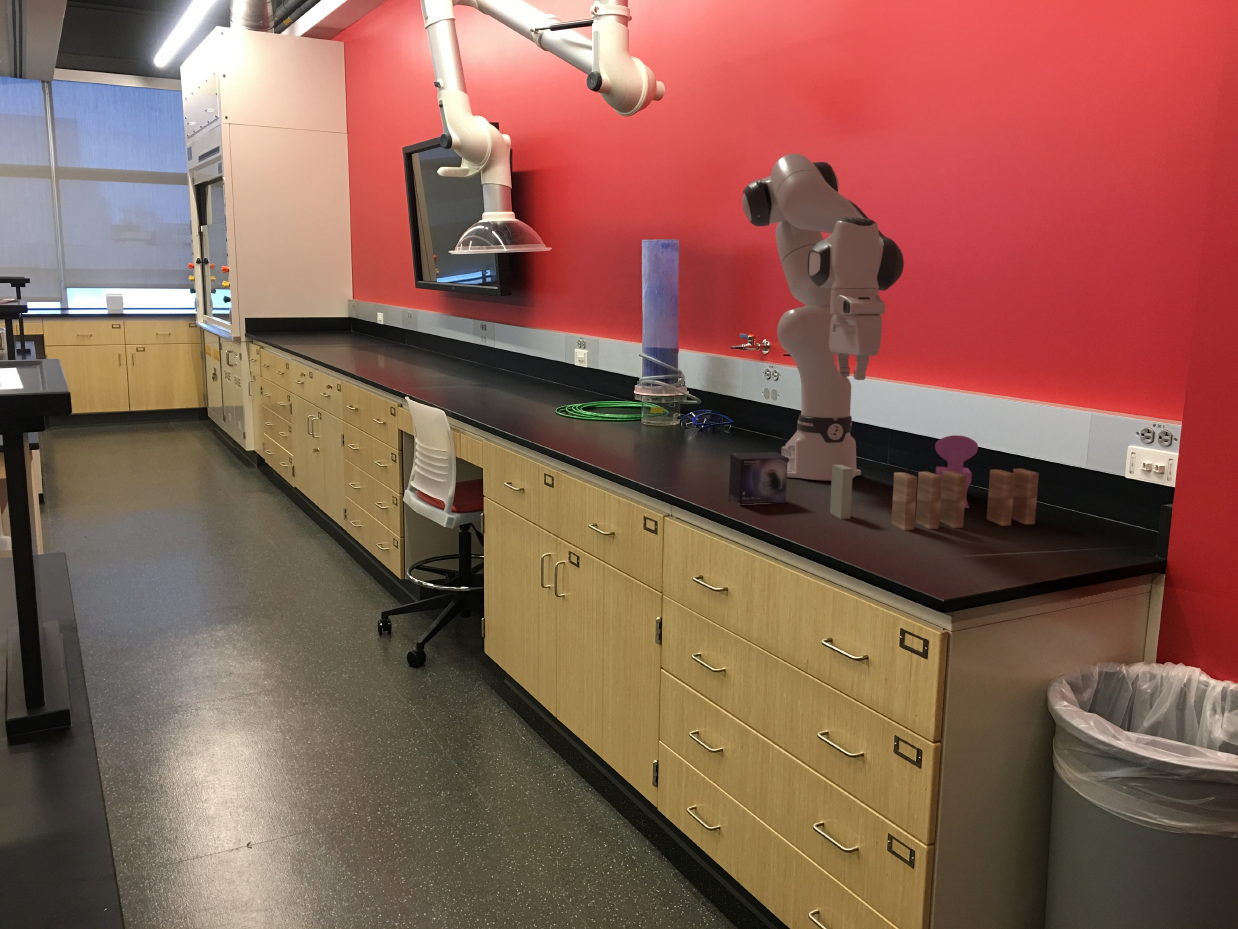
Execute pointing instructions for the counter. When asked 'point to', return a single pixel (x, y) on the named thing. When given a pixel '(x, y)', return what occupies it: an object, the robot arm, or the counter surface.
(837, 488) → the domino
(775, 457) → the small box
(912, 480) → the domino
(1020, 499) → the domino
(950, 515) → the domino
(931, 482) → the domino
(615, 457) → the counter surface
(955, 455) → the toy chair
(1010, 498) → the domino
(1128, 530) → the counter surface
